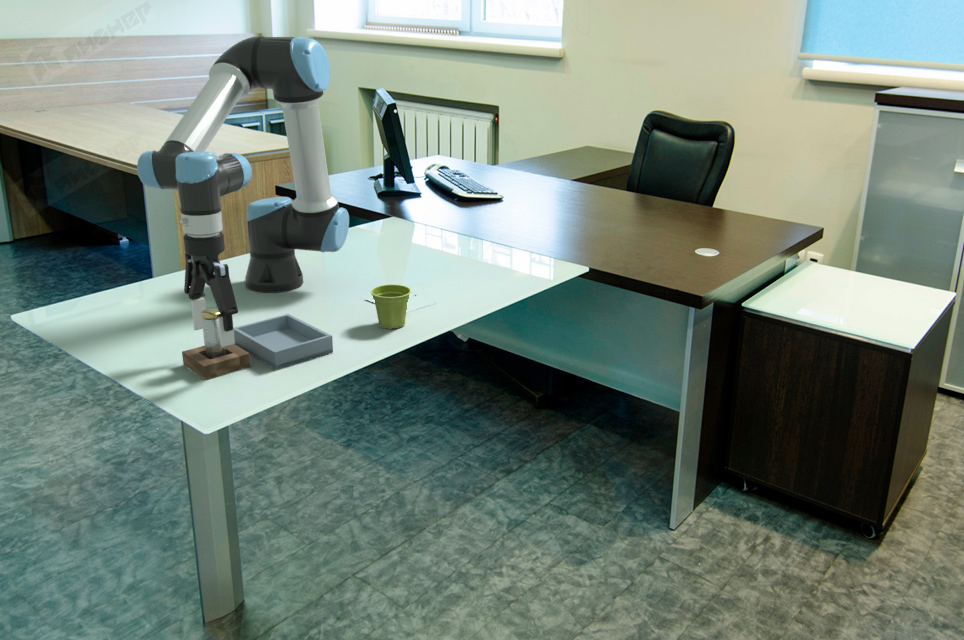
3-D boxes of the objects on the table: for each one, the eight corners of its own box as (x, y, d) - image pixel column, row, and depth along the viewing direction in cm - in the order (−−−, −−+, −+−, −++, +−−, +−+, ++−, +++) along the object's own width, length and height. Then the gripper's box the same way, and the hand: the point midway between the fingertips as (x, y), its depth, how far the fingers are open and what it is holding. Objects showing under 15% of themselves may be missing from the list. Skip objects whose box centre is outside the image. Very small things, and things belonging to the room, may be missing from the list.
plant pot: (400, 334, 189) (399, 299, 186) (364, 328, 192) (363, 293, 189) (418, 321, 197) (417, 287, 194) (383, 316, 200) (382, 282, 197)
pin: (221, 360, 173) (216, 307, 169) (230, 366, 170) (225, 312, 166) (203, 365, 170) (197, 311, 166) (212, 371, 168) (206, 316, 164)
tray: (289, 329, 190) (288, 313, 189) (333, 352, 178) (332, 335, 177) (233, 345, 181) (232, 328, 180) (276, 370, 169) (274, 352, 168)
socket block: (227, 352, 177) (226, 339, 176) (250, 366, 170) (249, 353, 169) (183, 364, 171) (181, 351, 169) (205, 380, 164) (204, 366, 163)
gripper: (159, 224, 166) (171, 325, 174) (213, 248, 150) (224, 358, 158) (194, 218, 171) (204, 317, 178) (250, 241, 155) (259, 348, 163)
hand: (214, 336), depth 168 cm, fingers open, 11 cm apart
